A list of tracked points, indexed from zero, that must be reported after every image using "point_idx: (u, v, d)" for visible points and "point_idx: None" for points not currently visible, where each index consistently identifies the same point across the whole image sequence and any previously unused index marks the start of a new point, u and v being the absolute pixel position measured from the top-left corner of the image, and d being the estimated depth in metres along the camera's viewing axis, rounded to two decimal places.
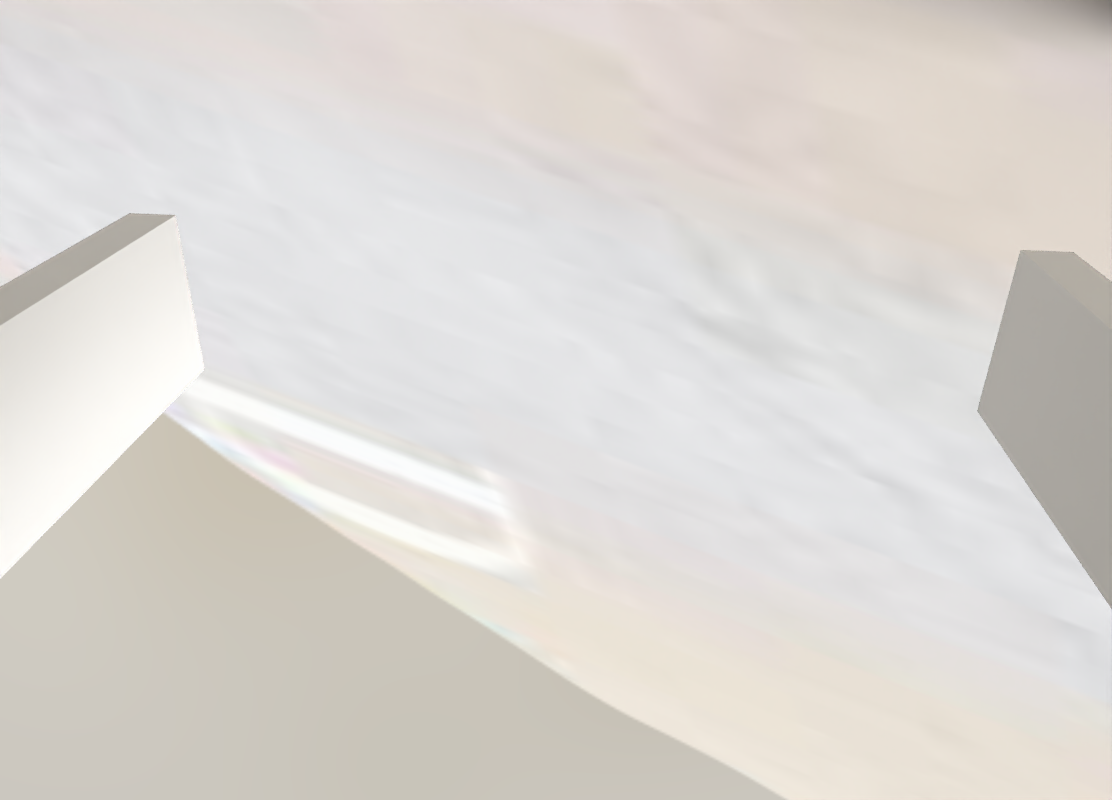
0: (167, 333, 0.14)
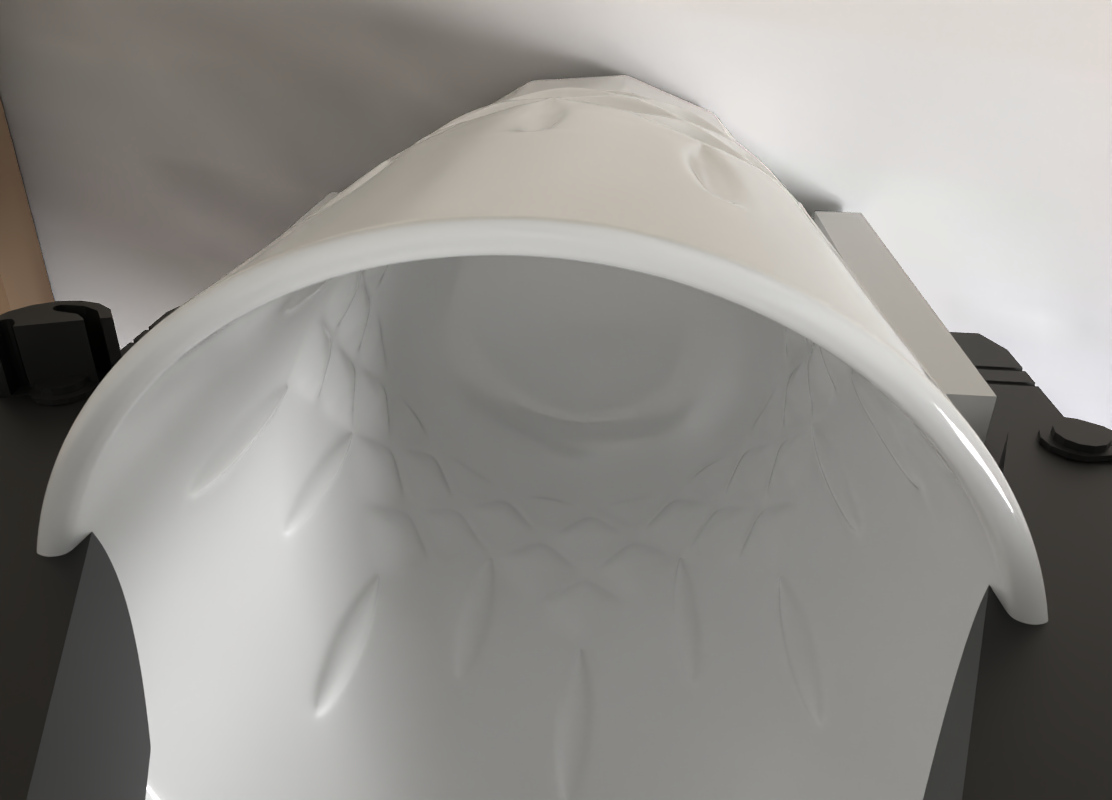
0: None
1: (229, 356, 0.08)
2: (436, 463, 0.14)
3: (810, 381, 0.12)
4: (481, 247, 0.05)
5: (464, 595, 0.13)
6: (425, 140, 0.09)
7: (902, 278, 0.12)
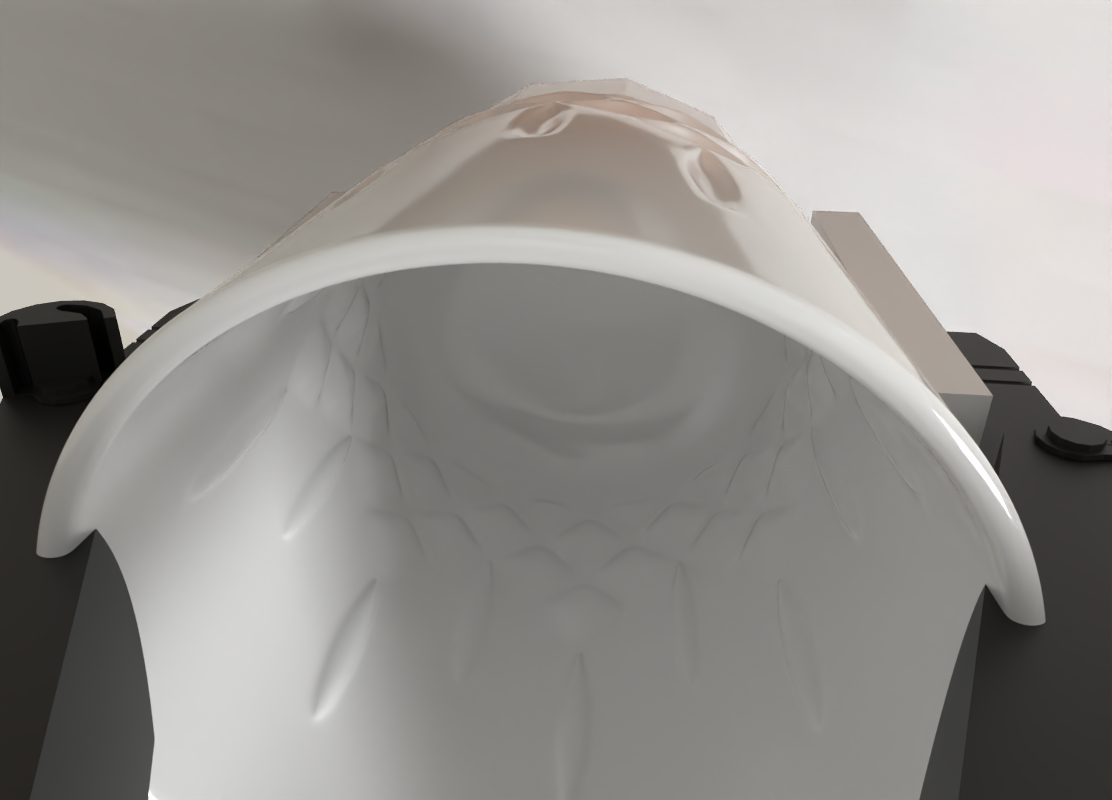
0: None
1: (228, 361, 0.08)
2: (435, 466, 0.14)
3: (809, 385, 0.12)
4: (480, 255, 0.05)
5: (462, 598, 0.13)
6: (424, 145, 0.09)
7: (899, 278, 0.12)
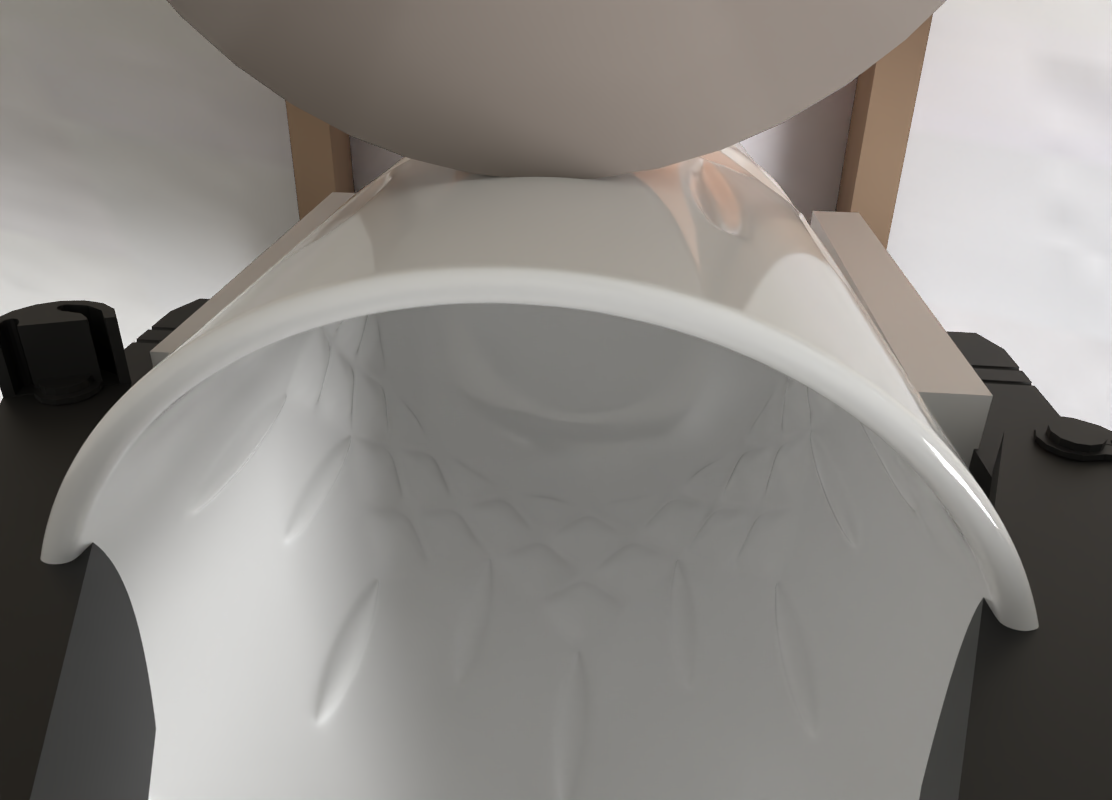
0: None
1: (228, 376, 0.08)
2: (435, 463, 0.14)
3: (809, 389, 0.12)
4: (482, 295, 0.05)
5: (462, 596, 0.13)
6: None
7: (899, 277, 0.12)
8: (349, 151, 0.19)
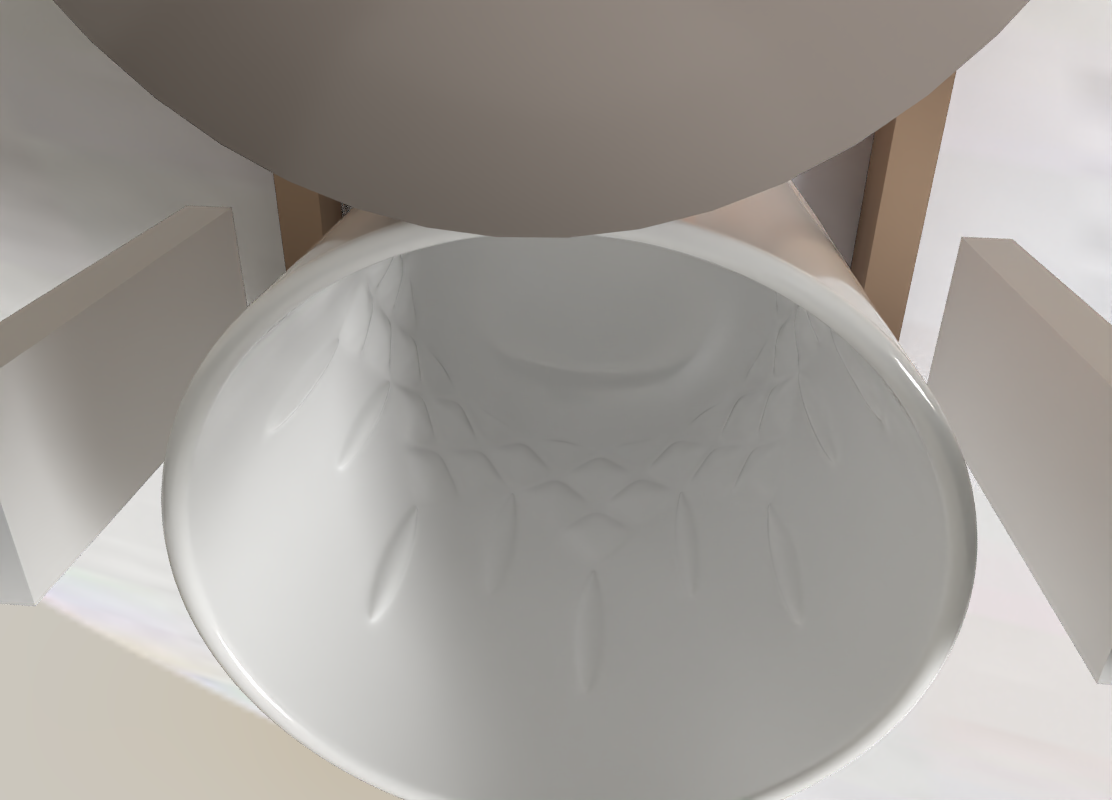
0: (223, 322, 0.14)
1: (302, 313, 0.10)
2: (462, 409, 0.16)
3: (796, 333, 0.13)
4: None
5: (490, 525, 0.15)
6: None
7: (1095, 317, 0.11)
8: None
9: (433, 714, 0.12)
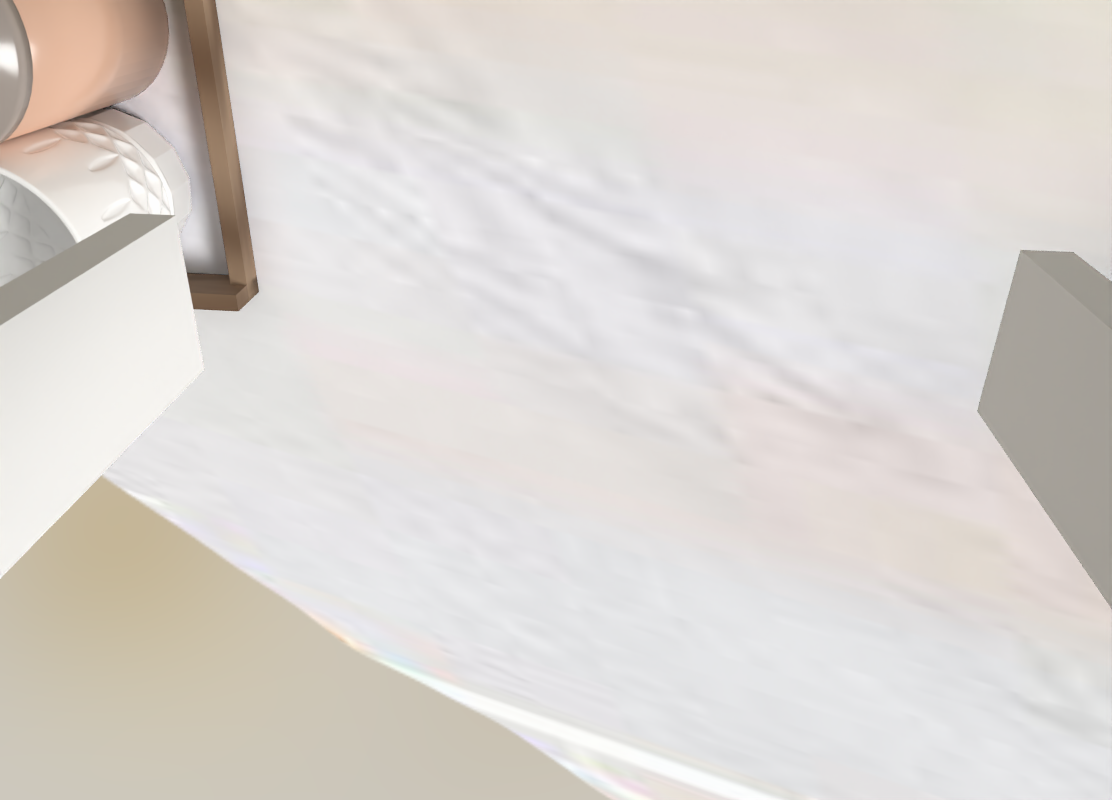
0: (167, 333, 0.14)
1: None
2: (51, 248, 0.40)
3: None
4: None
5: None
6: None
7: None
8: None
9: None
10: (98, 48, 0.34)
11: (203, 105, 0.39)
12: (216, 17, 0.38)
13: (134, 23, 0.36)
